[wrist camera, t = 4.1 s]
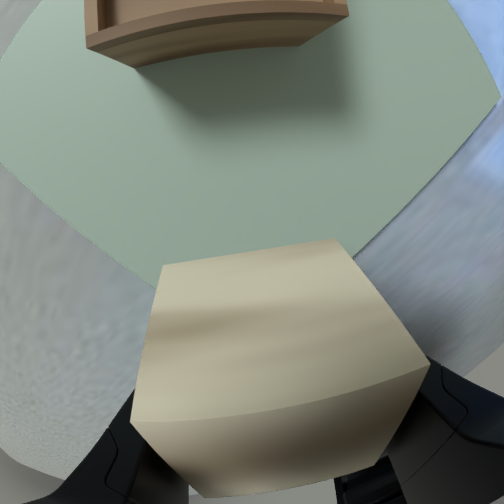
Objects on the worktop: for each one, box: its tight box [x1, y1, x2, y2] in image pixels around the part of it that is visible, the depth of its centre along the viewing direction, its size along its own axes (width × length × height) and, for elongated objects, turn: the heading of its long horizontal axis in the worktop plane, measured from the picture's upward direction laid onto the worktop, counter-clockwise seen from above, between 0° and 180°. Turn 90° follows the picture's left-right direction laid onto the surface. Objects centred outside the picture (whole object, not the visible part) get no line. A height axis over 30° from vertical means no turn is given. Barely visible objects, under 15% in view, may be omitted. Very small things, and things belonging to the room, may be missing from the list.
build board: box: [0, 0, 501, 290], centre depth 11 cm, size 24×22×1 cm
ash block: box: [130, 238, 430, 498], centre depth 7 cm, size 5×5×5 cm
